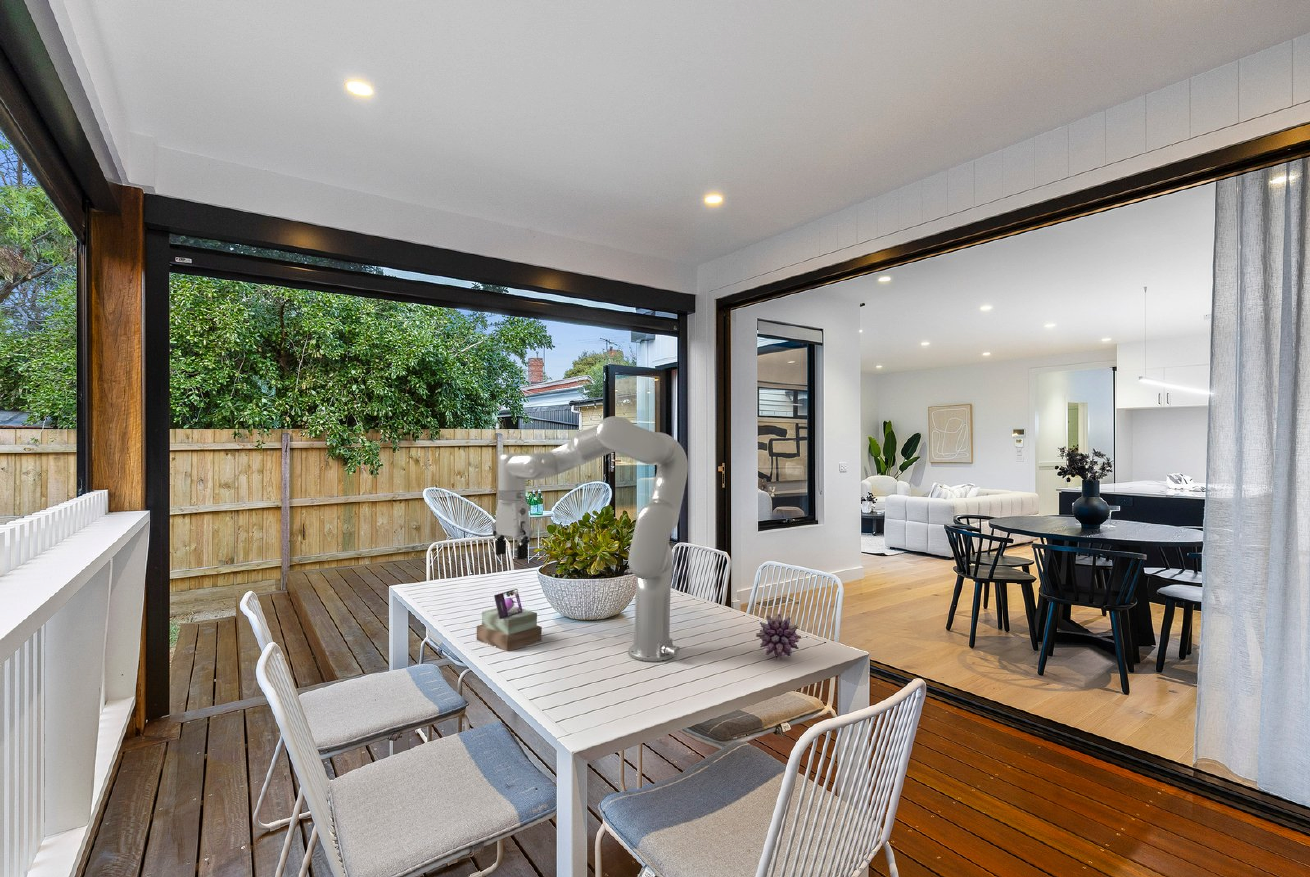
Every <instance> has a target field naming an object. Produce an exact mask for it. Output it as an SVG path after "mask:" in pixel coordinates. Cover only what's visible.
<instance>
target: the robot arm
mask: <svg viewBox="0 0 1310 877" xmlns="http://www.w3.org/2000/svg"><path fill="white" fill-rule="evenodd" d="M612 453H618V454H620V455H623V456H625V457H628V458H631V459H633V460H635V461H637V462H640V463H643V464H646V465H650V466H653V465H656V474H655V478H654V479H653V484H652V491H651V495H650V497H649V501H648V502H647V503H646V504H645V505H644V506H643V507H642V508H641V509H640V511H639V512H638V515H637V517H636V520H635V526H634V529H633V533H632V534H633V535H632V539H631V543H630V546H629V551H628V557H627V558H628V559H627V560H628V562H627V563H628V567H629V570H630V572H631V573H632V575H634V576H635V597H634V598H635V600H634V634H633V636H634V638H633V640H634V641H633V645H631V646H629V648H628V650H627V651H628V652H627V654H628V655H629V656H630V657H631V658H633V659H635V660H639V661H642V660H643V662H662V660H664V661H668V660H669V659H672V658H673V657H676V656H678V655H679V652H680V649H681V647H680V646H679V645H674V644H673V638H671V637H670V632H671V631H670V626H671V591H672V590H671V587H672V586H671V585H672V573H673V570H672V569H673V563H674V562H673V560H674V556H673V550H672V547H671V545H670V539H671V535H672V532H673V531H674V530H675V529H676V527H677V526H678V523H679V519H680V514H681V508H682V504H683V499H684V495H685V488H686V484H687V479H688V471H689V468H688V467H689V464H688V462H689V461H688V458H687V455H686V451H685V450H684V448H683V447H682V445H681V444H680V442H679V441H677V440H676V439H675V438H674V437H673V436H672V435H669V434H667V433H664V432H654V431H652V430H649V429H646V428H645V427H641V426H639V425H636V424H634V423H633V422H631V421H630V420H629V419H628V418H626V417H623V416H614V415H612V416H608V417H605V418H603V419H602V420H601V421H600V422H599V423H598V425H595V426H593V427H590V428H588V429H585V430H583V431H580V432H578V433H576V434H574V435H573V436H572V438H571V439H570V440H569V441H568V442H566V443H564V444H562V445H561V446H558V447H555V448H554V449H550V450H548V451H545V452H534V453H526V454H525V453H519V452H505V453H502V454H500V455H499V458H498V501H497V507H496V514H495V522H493V523H491V525H490V526H491V529H492V534H493V537H494V541H495V555H496V556H500V555H505V554H506V553H507V548H506V547H507V541H506V539H505V538H506V537H508V538H514V539H516V541H517V543H518V544H517V545H516V559H517V560H525V559H526V560H527V559H528V545H529V544H530V542H531V540H532V536H533V533H534V530H533V529H532V528H531V527H530V515H529V514H530V513H529V512H530V511H529V508H528V507H529V505H528V502H527V501H526V496H527V495H526V487H527V486H526V484H527V483H526V482H527V480H530V481H539V480H543V479H549V478H550V479H551V478H553V477H555V476H559V475H560V474H563V473H565V472H568V471H570V470H573V469H575V468H577V467H579V466H582V465H585V464H587V463H590V462H592V461H594V460H597V459H599V458H601V457H604V456H607V455H609V454H612Z"/></svg>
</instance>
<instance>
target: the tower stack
mask: <svg viewBox="0 0 1310 877" xmlns="http://www.w3.org/2000/svg"><path fill="white" fill-rule="evenodd" d="M518 609H519V606H516V605H514V606H513V607H512V608H511V609H510V610H509V611H507V612H508V615H510V614H513V613H516V612H518ZM519 610H520V609H519ZM522 611H523V612H521V613H518V614H515V615H512V616H509V617H506V618H503V619H499V615H498V614H497V612H498V611H497V607H496V608H493V609H489V610H484V611H482V612H481V624H480V625H479V624H478V625H476V639H477V640H476V641H478V640H479V641H478V642H481V643H483V642H485V643H484V644H486V643H488V644H487V645H489V644H490V645H489V646H491V645H492V647H494V646H496V647H495V648H497V647H498V648H497V649H499V648H501V649H500V650H502V649H503V651H506V652H509V651H513V650H516V648H517V649H519V648H520V649H521V648H522V646H523V647H525V646H529V645H533V644H536V643H539V642H542V638H543V637H542V636H543V634H542V633H543V631H542V630H543V628H542V626H541V625H538V613H537V612H534V611H532V610H529V609H526V608H522Z"/></svg>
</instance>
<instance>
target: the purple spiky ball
mask: <svg viewBox="0 0 1310 877" xmlns="http://www.w3.org/2000/svg"><path fill="white" fill-rule="evenodd" d="M766 617H767V618H766V621H767V623H766V622H761V621H760V622H759V624H760V627H761V628H760V629H759V632H758V633H755V634H756V635H755V637H756V638H759V639H761V643H760V644H759V645H760V648H765V647H766V648H767V649H766V653H765V655H767V656H769V655H770V654H771V653H773V652H774V654H775V656H776V655H777V658H779V659H778V660H781V656H782V655H783V654H785V655H786V656H787V657H788V656H790V657H792V654H793V650H792V649H796V650H799V648H800V647H799V646H798V645H797V644H796V643H799V642H800V639H801V638H802V636H801V635H799V634H798V633H797V632H796V631H797V630H798V629H799V626H798V624H793V625H791V619H792V617H791V616H788V617H787V618H785V619H783V618H782V614H781V613H777V614H776V617H775V618H773V617H771V616H770V615H769V614H767V616H766ZM777 658H776V659H777Z"/></svg>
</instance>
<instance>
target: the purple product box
mask: <svg viewBox="0 0 1310 877" xmlns="http://www.w3.org/2000/svg"><path fill="white" fill-rule="evenodd" d="M504 594H506V597H507V598H505V595H504ZM514 595H515V599H516V601H515V600H513V599H514V598H513V597H512V596H514ZM493 596H494V601H495V605H496V606H495V607H496V608H497V611H498V612H497V614H498V615H499V619H503V618H506V617H509V616H512V615H515V614H518V613H521V612H523V611H522V609H523V607H522V603H521V598H520V594H519V590H518V588H514V589H511V590H508V591H504V592H501V593H498V594H494V595H493ZM511 597H512V598H511ZM514 603H517V605H518V606H517V607H519V609H520V610H519V609H518V612H516V613H513V614H510V615H508V612H507V611H509V610H510V609H511V608H512V607H513V606H515V604H514Z"/></svg>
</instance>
